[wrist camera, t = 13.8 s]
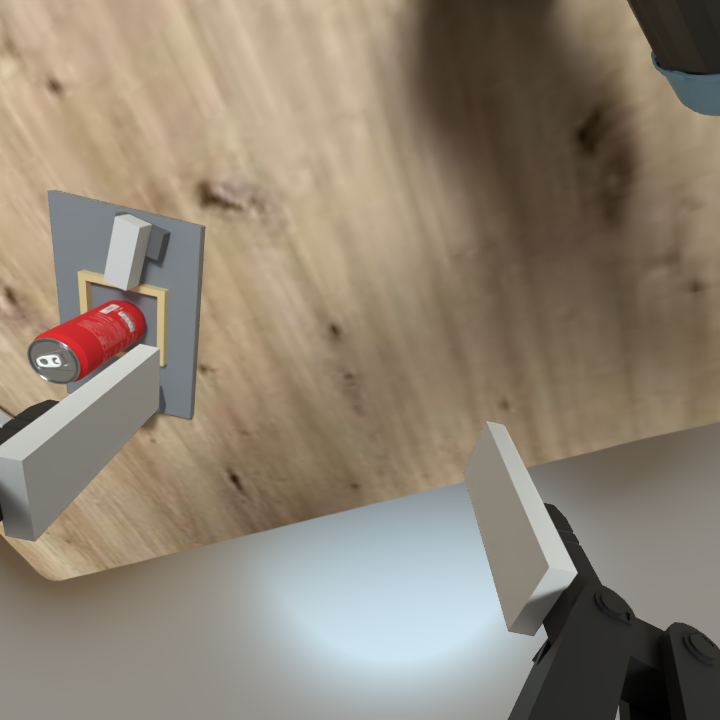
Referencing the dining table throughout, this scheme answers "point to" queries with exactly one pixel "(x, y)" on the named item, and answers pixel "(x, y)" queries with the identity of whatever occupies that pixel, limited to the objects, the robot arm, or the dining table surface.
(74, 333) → the beverage can
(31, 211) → the dining table surface
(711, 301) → the dining table surface
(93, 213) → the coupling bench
